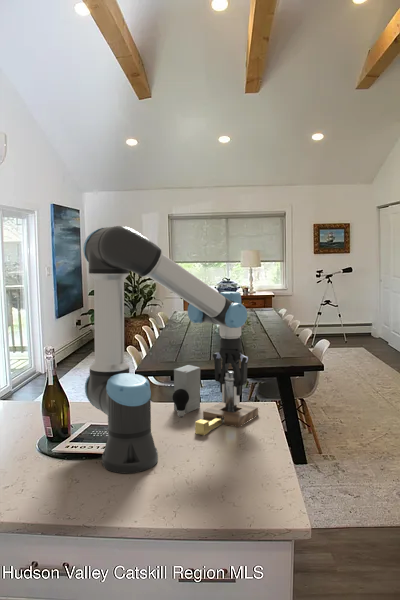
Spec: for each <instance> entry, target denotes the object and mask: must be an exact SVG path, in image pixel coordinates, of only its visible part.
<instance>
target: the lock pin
mask: <svg viewBox="0 0 400 600" xmlns="http://www.w3.org/2000/svg"><path fill="white" fill-rule="evenodd" d="M222 424H223V419H221V418H215V419H214V420H212V421H207V420H203V418H202V419H201V418H200V419H198V420H196V421H195V422H194V426H195V427H194V431H195V434H196V435H200V436H202V437H203V436H206V435H208V434H209V433H210V431H212V430H214V429H215V428H217V427H220V426H222Z"/></svg>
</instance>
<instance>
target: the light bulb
mask: <svg viewBox="0 0 400 600" xmlns="http://www.w3.org/2000/svg"><path fill="white" fill-rule="evenodd" d="M171 397H172V402H173V404H174V403H175V405H176V407H177V411H176V412H177V416H178V417H179V418H182V417H184V416H185V413H184V412H185V407H186V404H187V403H188V401H189V394H188V392H187V391H186V390H184V389H178V390H176V391H175V392H174V391H173V393H172V396H171Z"/></svg>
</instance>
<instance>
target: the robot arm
mask: <svg viewBox="0 0 400 600" xmlns="http://www.w3.org/2000/svg"><path fill="white" fill-rule="evenodd" d="M83 243H84V244H83V250H82V252H83V255H84V258H85V259H86V262H87V263H88V275H89V276H90V277H91V278H92V279H93V287H94V288H93V290H94V293H93V294H94V295H93V296H94V300H93V305H94V308H93V309H94V312H93V313H94V315H93V316H94V317H93V318H94V319H93V320H94V321H93V322H94V361H93V362H92V363H91V365H89V375H88V377H87V378H86V380H85V383H84V395H85V397H86V398H87V400H88V401H89V403H90V404H91V405H92V406H93V407H95V409H97V410H100V411H101V412H102V413H104V414H105V415H107V432H108V433H107V434H108V435H107V439H106V441H105V445H104V450H103V453H102V456H101V458H102V460H101V462H102V466H103V468H104V469H106V470H108V471H110V472H113V473H116V474H117V473H118V474H119V473H120V474H132V473H134V474H135V473H139V472H143V471H146V470H149V469H152V468H153V467H154V466H155V465H156V464H158V461H159V452H158V449H157V447H156V445H155V441H154V438H153V435H152V422H151V421H152V420H151V419H152V417H151V416H152V415H151V414H152V412H151V411H152V410H151V409H152V408H151V406H152V405H151V403H152V402H151V398H152V397H151V396H152V392H151V385H150V381H149V380H148V378H146V377H145V376H144V375H141V374H137V373H136V374H134V373H132V372H130V365H129V364H128V362H126V361H125V280H126V278H128V277H129V275H130V272H132V273H134V274H136V275H138V276H139V277H141V278H145V277H148V278H149V279H151V280H153V281H154V282H155V283H157V284H159V285H160V286H161V287H163V288H165V289H166V290H168V291H170V292H171V293H173V294H174V295H176V296H177V297H180V299H182V300H184V301H185V302H187V303H188V305H187V316H188V318H189V319H188V320H189V321H190V322H192V323H193V324H202V323H206V324H207V323H208V324H212V325H219V336H220V338H219V351H218V352H215V353H213V354H212V357H213V361H214V363H213V364H214V380H215V382H217V383H219V389H220V391H219V392H220V393H221V395H222V396H221V400H222V401H221V402H222V403H225V380H224V376H225V372H226V371H229V366H231V368H232V371H233V372H234V378H235V383H236V385H235V386H234V405H237V404H241V403H240V402H241V401H240V396H241V395H242V387H243V386H245V385H247V384H248V362H249V359H250V356H248V355H247V356H246V355H244V354H243V352H242V347H243V346H242V337H241V336H242V327H243V326H244V325H245V324H246V322H247V319H248V311H247V308H246V306H245V305H243V304H242V295H241V293H240V292H238V291H223V292H222V291H221V292H220V293H219V292H218V291H217V290H216V289H214V288H213V287H211V286H210V285H208V284H207V283H205V282H204V281H202V280H201V279H199V278H198V277H197V276H195V275H194V274H192V273H191V272H190V271H188V270H187V269H185V268H184V267H182V266H181V265H179V264H178V263H177V262H175V261H174V260H173V259H171V258H169V257H168V256H167V255H165V254H164V253H163V250H162V248H161V247H160V246H159V245H157V244H156V243H155V242H153V241H152V240H151V239H149V238H147V237H146V236H145V235H143V234H141V233H140V232H138V231H137V230H135V229H133V228H131V227H128V226H125V225H116V226H109V227H107V226H106V227H101V228H97V229H96V230H94V231H92V232H91V233H90V234H89V235H88V236H87V237H86V239H85V241H84V242H83ZM240 362H241V363H240Z"/></svg>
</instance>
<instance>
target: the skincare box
mask: <svg viewBox="0 0 400 600" xmlns="http://www.w3.org/2000/svg"><path fill="white" fill-rule="evenodd" d="M178 389H184V390H186V391H187V392H188V394H189V401H188V403H187V404H186V407H185V412H184V414H189V413H191V412H193V411H196V410H197V409H200V408H201V367H199V366H196V365H192V364H187V365H184V366H180V367H178V368H174V369H173V393H174V392H175V391H176V390H178ZM173 410H174V411H176V412H178V411H177V407H176V405H175V403H174V402H173Z"/></svg>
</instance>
